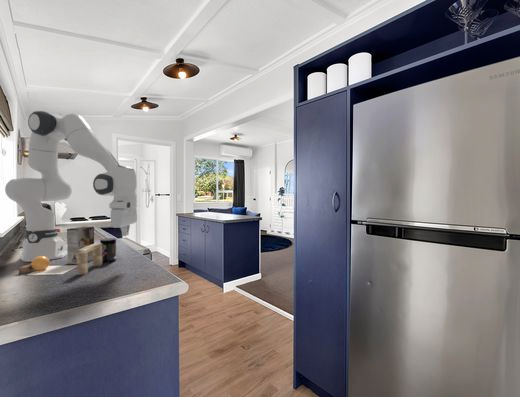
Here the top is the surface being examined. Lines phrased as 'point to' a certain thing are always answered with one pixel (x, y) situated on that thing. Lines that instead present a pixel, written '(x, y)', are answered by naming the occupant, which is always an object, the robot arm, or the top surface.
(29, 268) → the stopper
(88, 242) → the coffee box
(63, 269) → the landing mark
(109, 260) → the supplement container
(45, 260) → the ball
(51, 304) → the top surface
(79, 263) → the bridge
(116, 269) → the top surface
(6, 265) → the top surface
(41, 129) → the robot arm
